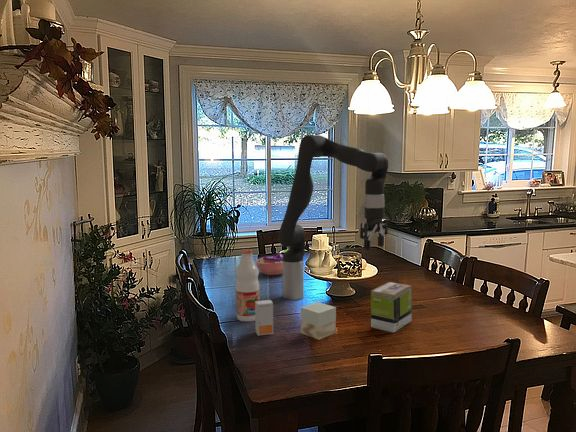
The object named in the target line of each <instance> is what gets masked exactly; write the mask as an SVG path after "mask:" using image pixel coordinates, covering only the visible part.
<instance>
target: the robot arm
mask: <svg viewBox="0 0 576 432" xmlns="http://www.w3.org/2000/svg"><path fill="white" fill-rule="evenodd" d="M321 157H324V158H325V157H326V158H327V157H328V158H329V157H330V158H333V159H336V160H337V161H339V162H341V163H343V164H346V165H349V166H351V167H356V168H358V169H359V170H362V171H364V172H368V173H371V176H369V178H367V179H366V181H365V183H364V184H365V186H364V187H365V189H364V190H365V191H364V204H363V205H364V208H363V209H364V213H363V214H364V219H365V220H366V222H361V223H360V226H359V227H360V231H359V239H360V240H361V239H362V240H363V247H364V250H366V251H370V250H371V238H372V236H374V234H375V233H376V234H377V246H378V247H382V248H383V247H384V245H385V237H386V235H388V234H389V232H388V231H389V230H388V229H389V227H388V226H389V225H388V219H385V212H386V211H385V203H386V202H385V181H386V179H387V174H388V171H389V170H388V169H389V160H388V157H387V155H386V154H384V152H383V153H382V152H366V151H365V150H363V149H362V148H358V147H354V146H350V145H347V144H346V145H345V144H341V143H338V142H337V141H333V140H331V139H329V138H327V137H325V136H323V135H318V134H308V135H304V136H303V137H302V139H301V141H300V143H299V147H298V155H297V160H296V161H297V162H296V168H295V173H294V178H293V181H292V185H291V190H290V193H289V199H288V203H287V207H286V210H285V214H284V216H283V219H282V222H281V225H280V228H279V230H278V231H279V232H278V241H279V243H280V245H281V246H282V247H284V248H285V247H288V250H286V251H285V252H284V253H283V254H282V255H283V273H282V275H281V297H283V299H286V300H291V301H292V300H293V301H297V300H301V299H303V298H304V256H305V253H306V252H305V251H306V233H305V229H304V227H302V225H300V224H297V223H298V221H299V219H300V217H301V216H302V214H303V213H304V212H305V210H306V209H307V207H308V206H309V205H310V202H311V200H312V197H313V192H314V182H313V179H312V174H311V167H312V163H313V159H314V158H321Z"/></svg>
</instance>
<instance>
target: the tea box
mask: <svg viewBox="0 0 576 432" xmlns="http://www.w3.org/2000/svg"><path fill="white" fill-rule="evenodd" d="M412 317H413V316H412V285H409V284H404V283H397V282H391V281H388V282H386V283H384V284H382V285H380V286H378V287H376V288H374V289H372V290H371V291H370V326H371V328H373V329H376V330H382V331H385V332H389V333H396V332H397V331H399V330H400V329H402V328H404V326H406V325H408V324H409V323H411V322H412V319H413V318H412Z"/></svg>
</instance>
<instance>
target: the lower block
mask: <svg viewBox="0 0 576 432" xmlns="http://www.w3.org/2000/svg"><path fill="white" fill-rule="evenodd" d="M336 321H337V320H336ZM336 321H333V322H331V323H328V324H325V325H323V326H320V327H318V326H315V325H312V324H309V323H307V322H304V321H301V320H300V333H301V334H302V335H306V336H308V337H310V338H313V339H315V340H319V341H320V340H322V339H324V338H326V337H329V336H332V335H334V334H337V332H336V331H337V330H336V329H337V328H336V326H337V322H336Z"/></svg>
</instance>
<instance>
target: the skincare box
mask: <svg viewBox="0 0 576 432" xmlns="http://www.w3.org/2000/svg"><path fill="white" fill-rule="evenodd" d="M254 322H255V325H254V327H255V334H256V335H257V336H258V337H259V336H267V335H269V336H270V335H274V302H273V301H272V300H271V299H267V300H266V299H265V300H264V299H263V300H260V301H255V321H254Z"/></svg>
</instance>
